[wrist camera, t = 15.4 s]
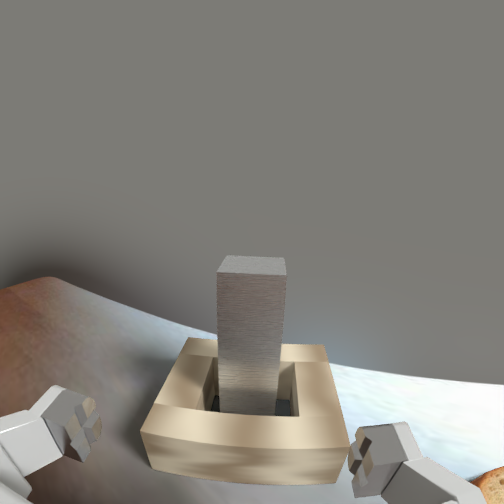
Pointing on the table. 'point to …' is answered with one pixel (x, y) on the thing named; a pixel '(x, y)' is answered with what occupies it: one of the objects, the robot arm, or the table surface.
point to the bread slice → (492, 485)
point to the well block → (248, 423)
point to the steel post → (250, 333)
